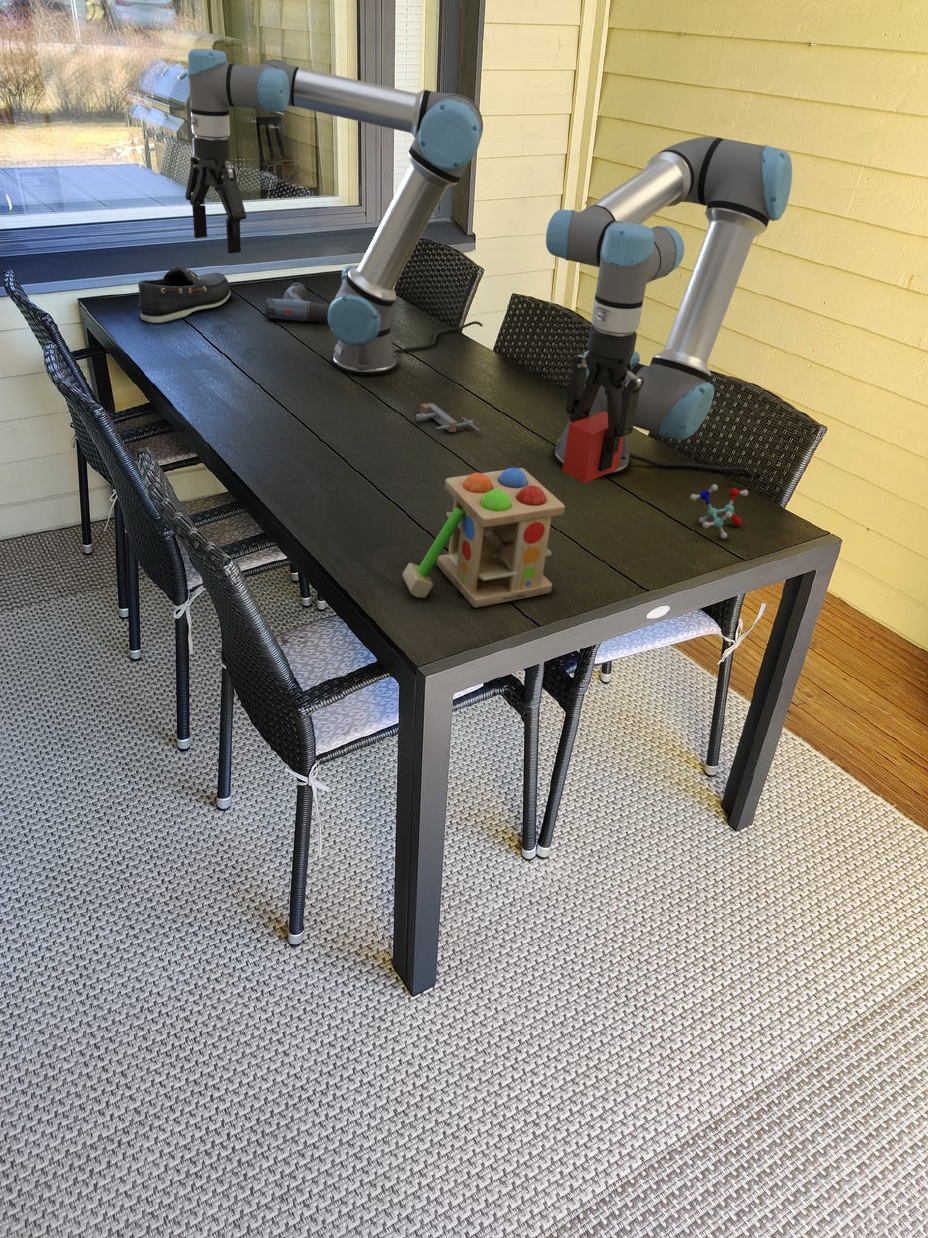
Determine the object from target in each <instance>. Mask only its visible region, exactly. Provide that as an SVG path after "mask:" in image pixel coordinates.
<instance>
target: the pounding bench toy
mask: <svg viewBox="0 0 928 1238" xmlns="http://www.w3.org/2000/svg"><path fill="white" fill-rule="evenodd" d="M444 489H445V490H446V491H447V492H448V494H450V496H451V497H452V498H453V504H452V505H453V506H452V511H446V512H445V515H446V516H447V520H446V521H445V523H444V525H443V527H442V528H441V530H440V531H439V533H438V535H437V536H436V538H435V540H434V542H433V543H432V544H431V547H430V548H429V550H428V552H426V555H425V556H424V558H423V560H422V562H421V563H420V564H419V565H418V564H415V563H412V562H409V563H408V564H407V565H406V567H405V569H404V570H403V572H402V575H401V576H402V578H403V580H404V582H405V584H406V586H407V588H408V591H409V593H410V594H411V595H412V596H414V597H416V598H420V599H421V598H423V599H424V598H426V597H427V596H428V594H429V593H430V592H431V590H432V588H433V586H434V584H433V581H432V579H431V577H430V575H429V573H430V572H431V570H432V569H433V567H434V565H435V563H436V565H437V567H438V568H439V570H440V571H441V572H442V573H443V574H444V575H445V576H446V578H447V579H448V580H449V581H450V582H451V583H452V584H453V586H454V587H455V588H456V589H457V590H458V591H459V593H461V595H462V596H463V597H464V599H466V601H468V602H469V604H470V605H471V606H472V607H473V608H481V607H487V606H492V605H496V604H501V603H506V602H507V603H508V602H511V601H512V602H513V601H517V600H521V599H522V600H523V599H527V598H533V597H537V596H542V595H547V594H550V593H552V588H553V583H552V582H551V581H550V580H549V579H548V577H546V576H545V575H544V571H545V569H544V568H545V563H546V558H547V557H549V556H552V554H553V553H552V551H551V550H550V549H549V548H548V544H549V536H550V529H551V522H552V517H558V516H562V515H564V513H565V508H566V506H565V505H564V503H563V502H562V501H561V500H559V499H558V498H557V497H556V496H555V495H554V494H553V493H552V492H551V491H549V490H548V489H547V488H546V487H545V486H544V485H542V483H540V481H538V480H537V479H536V478H535V477H534V476H532V474H530V473H529V472H528V471H527V470H526V469H525V468H523V467H519V468H518V467H508V468H506V469H502V470H496V471H494V470H493V471H487V472H473V473H471V474H467V475H466V474H465V475H459V476H452V477H447V478H446V479H445V484H444ZM484 531H490V532H488V533H486V534H484ZM448 542H449V545H448V546H449V547H448V553H447V554H441V553H442V552H443V550H444V549H445V547H446V545H447V544H448Z"/></svg>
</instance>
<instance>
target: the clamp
mask: <svg viewBox="0 0 928 1238" xmlns="http://www.w3.org/2000/svg"><path fill="white" fill-rule="evenodd" d="M419 407H420V409H419V413H416V415H415V419H416V420H417V421H419V422H420V421H427V420H428V419H433V420H434V421H435V422H436V423H438V424H439V425H440V426H436V427H435V430H443V431H444V430H446V431H448V432H449V433H454V432H457V428H461V427H466V428H470V427H471V428H473V429H474V430H476V433H477V434H479V433H481V432H482V428H479V427H477V426H476V425H475V424H474V420H472V419H470V420H467V419H466V417H465V416H462V417H461V418H460V420H461V421H462V422H457V421H456V420H455V419H454V418H453V417H451V416H450V415H449V414H448V413H446V412H445V411H444V410H443V409H442V408H440V407H438V405H436V404H435V403H433V402H431V403H430V402H429V403H421V404H420V406H419Z"/></svg>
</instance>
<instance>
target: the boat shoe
mask: <svg viewBox="0 0 928 1238" xmlns="http://www.w3.org/2000/svg"><path fill="white" fill-rule="evenodd" d="M137 285H138V286H137V287H138V293H139V294H138V295H139V296H138V301H139V302H138V303H137V307H139V308H140V319H141V320H143V321H145V322H148V323H152V324H158V323H160V324H161V323H166V322H170V321H173V320H177V319H181V318H184V317H187V316H188V315H190V314H191V313H193V312H196V311H199V310H205V309H211V308H216V307H219V306H222V305H223V304H225V303H226V302H227V301H228V300H229V298H230V296H231V294H232V293H231V287H230V282H229V280H228V279H227V277H226V276H225V274H223V273H220V272H211V273H205V274H201V275H198V274H197V273H195V272H194V271H192V270H190V269H189V268H182V267H180V266H176V267H173V268H171V269H170V270H168V271H167V272H166V273H165V274H164V276H163V277H162V278H158V279H143V280H139V281H138V282H137Z"/></svg>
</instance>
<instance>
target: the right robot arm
mask: <svg viewBox="0 0 928 1238" xmlns="http://www.w3.org/2000/svg"><path fill="white" fill-rule="evenodd" d="M792 180H793V163H792V158H791V156H790V155H789V153H788V152H787V151H786V150H784V149H780V148H777V147H772V146H770V145H768V144H765V145H762V144H756V143H750V142H745V141H740V140H734V139H733V140H732V139H728V138H722V137H717V136H700V137H695V138H690V139H686V140H683V141H680V142H678V143H674V144H672V145H670V146H668V147H665V148H664V149H662V150H661V151H659V152H657V153H656V154H654V155H653V156H651V157H650V158H649V160H647V162H646V163H645V166H644V168H643V169H642V170H641V171H639V172H637V173H636V174H635V175H633V176H631V178H628V179H627V180H626V181H624V182H622V183H621V184H620V185H618V186H617V187H615V188H613V189H612V190H611V191H609V192H608V193H606V194H605V195H603V196H601V197H600V198H599V199H597V200H596V201H594V202H593V203H591V204H590V205H588V206H586V208H584V209H582V210H581V211H576V210H574V209H564V208H563V209H562V208H561V209H558V210H556V211H555V212H554V213H553V214H552V216H551V217H550V219H549V220H548V223H547V227H546V232H545V246H546V250H547V251H548V252H549V254H550V255H552V256H554V257H557V258H560V259H563V260H565V261H567V262H575V263H579V264H582V265H586V266H587V265H588V266H591V267H594V268H595V267H596V268H598V275H597V281H596V282H597V283H596V290H595V291H596V292H595V295H594V302H593V307H592V314H591V321H590V322H591V325H592V326H591V327H590V329H589V333H588V339H587V345H586V348H587V350H586V351H584V352H583V353H581V354H577V355H574V356H572V357H571V359H570V362H571V376H570V383H569V388H568V395H567V402H566V408H565V412H566V414H568V415H569V417H568V422H567V424H566V426H565V428H564V430H563V432H562V434H561V435H560V437H558V440H557V442H556V447H555V450H554V451H555V452H554V458H555V459H554V460H556V462H557V463H558V464H559V465H560V466H561V467H563V463H564V457H565V450H566V443H567V437H568V430H569V424H570V423H573V422H576V421H578V420H581V419H584V418H587V417H590V416H593V415H596V414H598V413H601V412H606V413H608V433H607V434H604V438H603V444H602V450H601V455H600V461H599V467H598V470H599V471H601V472H602V471H604V470H607V469H609V468H611V466H612V461H613V455H614V453H616V452H617V451H618V448H619V442H620V437H622V436H624V439H623V445H622V450H621V455H620V461H619V466H618V469H617V470H615V471H612V472H610V473H607V474H605V475H603V476H602V477H611V476H616V475H619V474H622V473H625V471H626V470H627V469H628V467H629V462H630V459H633V460H636V461H640V462H643V463H646V464H649V465H652V466H655V467H661V468H692V469H693V468H694V469H699V470H707V471H708V470H709V471H714V472H728V473H729V472H743V473H746V474H747V475H748V476H749V477H750V478H755V474H754V473H753V472H752V471H751V472H748V470H747V469H748V468H746V467H745V466H744V467H743V466H732V467H731V466H730V467H729V466H728V467H722V466H713V465H707V464H700V463H692V462H660V461H656V460H652V459H649V458H646V457H644V456H640V455H637V454H633V453H630V449H629V444H628V442H629V441H628V435H630V434H632V433H633V430H634V428H637V429H641V430H643V431H647V432H650V433H654V434H656V435H659V436H660V437H662V438H669V439H674V440H677V441H683V440H687V439H689V438H691V437H692V436H693V435H694V434H695V433H696V432H697V431H698V429H699V428H700V427H701V425H702V424H703V422H704V421H705V419H706V417H707V415H708V413H709V411H710V410H711V407H712V405H713V399H714V396H715V387H714V385H712V383H710V380H711V377H712V373H711V371H710V369H709V366H708V362H709V359H710V357H711V355H712V351H713V349H714V346H715V343H716V341H717V338H718V335H719V332H720V330H721V327H722V324H723V321H724V320H725V316H726V314H727V311H728V308H729V306H730V303H731V300H732V298H733V295H734V293H735V290H736V288H737V284H738V281H739V279H740V276H741V273H742V271H743V269H744V265H745V262H746V260H747V257H748V256H749V253H750V249H751V247H752V245H753V242H754V239H755V238H757V237H758V236H760V235H762V234H764V233H765V232H766V230H767V228H768V225H769V223H770V221H771V222H775V221H780V219H781V218H782V216H783V214H784V213H785V211H786V208H787V206H788V203H789V198H790V193H791V189H792V188H791V187H792V183H793V182H792ZM680 203H690V204H696V205H701V206H705V207H706V209H705V212H704V215H705V217H706V219H707V222H708V227H707V230H706V232H705V235H704V238H703V241H702V244H701V246H700V249H699V251H698V255H697V257H696V260H695V263H694V266H693V269H692V271H691V274H690V277H689V280H688V282H687V285H686V288H685V290H684V293H683V296H682V297H681V298H682V299H681V301H680V304H679V307H678V309H677V312H676V314H675V315H676V316H675V318H674V320H673V324H672V326H671V329H670V332H669V334H668V337H667V340H666V343H665V345H664V347H663V349H662V350H661V351H660V352H657V353H656V354H653V355H652V357H651V361H650V364H649V365H645V364H643V363H640V362H641V358H640V354H639V352H637V351H635V349H636V344H637V339H638V333H637V331H638V330H639V327H640V322H641V317H642V316H641V315H642V311H643V304H644V298H645V293H646V289H647V285H648V284H649V283H650V282H654V281H656V280H659V279H662V278H665V277H666V276H668V275H669V274H671V273H672V272H673V271H675V270H677V268H678V267H679V266H680V264H681V263H682V261H683V259H684V256H685V243H684V240H683V237H682V236H681V233H679V232H678V231H677V230H676V229H675V228H673V227H671V226H668V225H662V226H661V225H657V226H653V227H652V228H651V227H649V226H647V225H643V224H644V223H645V222H647V221H648V220H649V219H650V218H652V217H653V216H655V215H656V214H657V213H658V212H660V211H662V209H664V208H666V207H667V208H669V207H674V206H677V205H679V204H680Z"/></svg>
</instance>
